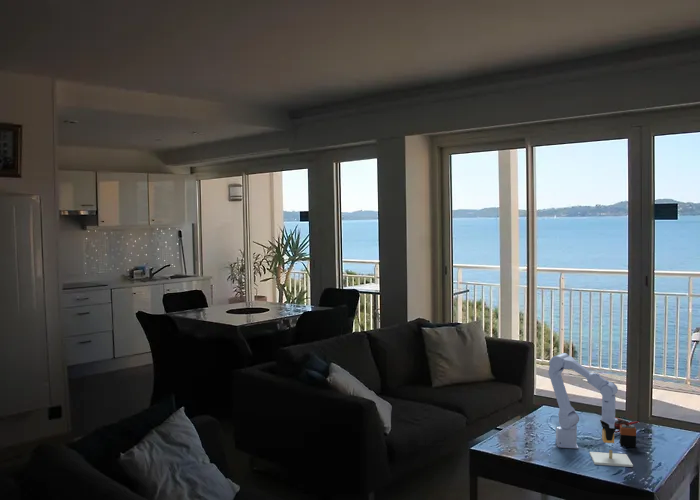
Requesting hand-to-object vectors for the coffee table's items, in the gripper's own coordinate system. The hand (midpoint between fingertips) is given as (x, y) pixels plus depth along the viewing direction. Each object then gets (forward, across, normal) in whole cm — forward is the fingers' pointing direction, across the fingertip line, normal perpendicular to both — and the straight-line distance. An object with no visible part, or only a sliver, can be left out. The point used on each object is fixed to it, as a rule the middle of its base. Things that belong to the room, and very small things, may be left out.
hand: (607, 438), depth 286 cm
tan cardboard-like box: (+1, 0, 0) cm, 1 cm away
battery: (+9, +15, -12) cm, 22 cm away
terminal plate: (+8, -5, 0) cm, 10 cm away
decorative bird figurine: (+9, +32, -14) cm, 36 cm away
